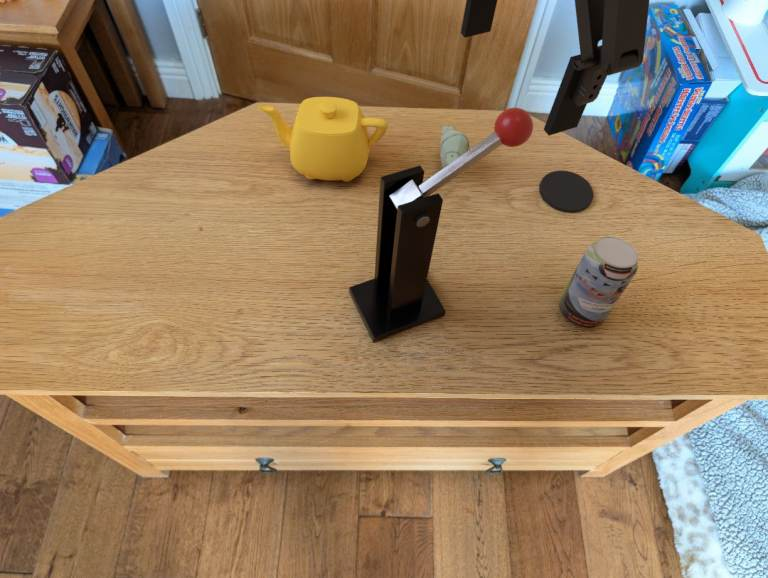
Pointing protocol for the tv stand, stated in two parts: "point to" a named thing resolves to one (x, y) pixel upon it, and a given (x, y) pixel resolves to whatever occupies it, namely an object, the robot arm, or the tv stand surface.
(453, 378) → the tv stand surface
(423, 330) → the tv stand surface
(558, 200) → the coaster
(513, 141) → the lever
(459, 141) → the pale green rounded lump
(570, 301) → the beverage can
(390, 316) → the bracket
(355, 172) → the teapot
